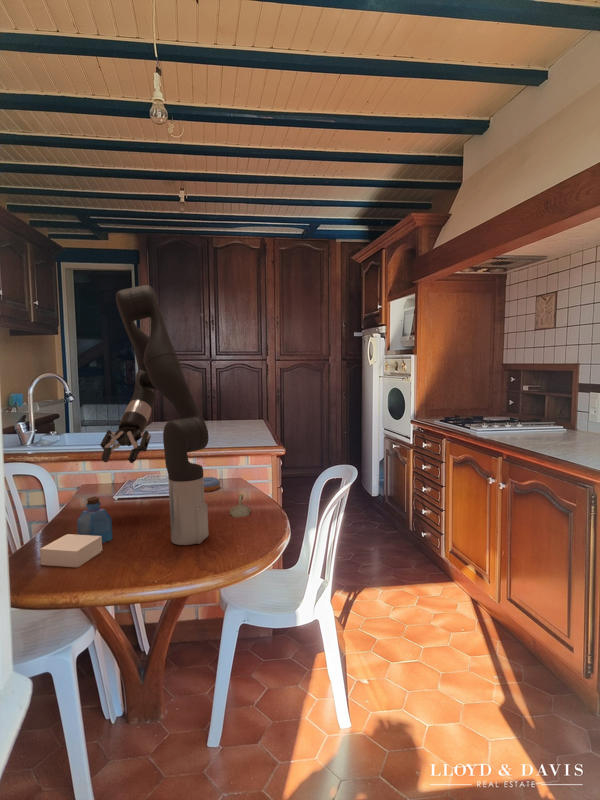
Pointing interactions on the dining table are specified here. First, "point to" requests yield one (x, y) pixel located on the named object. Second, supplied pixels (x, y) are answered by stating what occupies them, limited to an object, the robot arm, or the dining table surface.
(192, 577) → the dining table surface
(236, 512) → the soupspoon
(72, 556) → the plinth
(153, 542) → the dining table surface
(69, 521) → the dining table surface
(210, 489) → the doughnut
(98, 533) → the perfume bottle
